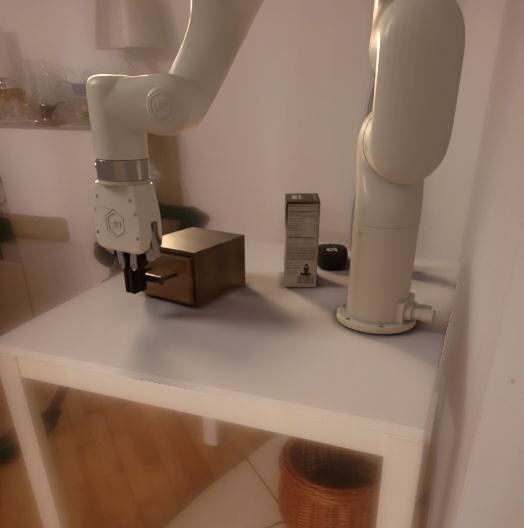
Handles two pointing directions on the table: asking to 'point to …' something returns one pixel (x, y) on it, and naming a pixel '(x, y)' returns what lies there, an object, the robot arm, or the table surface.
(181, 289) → the drawer
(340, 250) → the computer mouse
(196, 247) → the cabinet
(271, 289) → the table surface
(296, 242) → the coffee box
